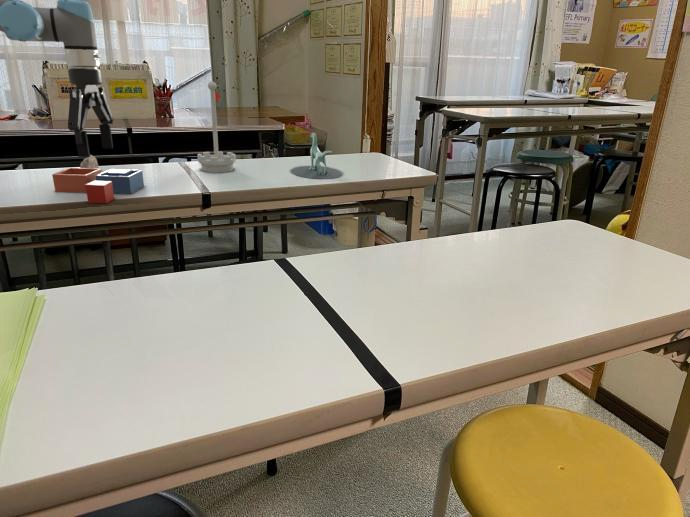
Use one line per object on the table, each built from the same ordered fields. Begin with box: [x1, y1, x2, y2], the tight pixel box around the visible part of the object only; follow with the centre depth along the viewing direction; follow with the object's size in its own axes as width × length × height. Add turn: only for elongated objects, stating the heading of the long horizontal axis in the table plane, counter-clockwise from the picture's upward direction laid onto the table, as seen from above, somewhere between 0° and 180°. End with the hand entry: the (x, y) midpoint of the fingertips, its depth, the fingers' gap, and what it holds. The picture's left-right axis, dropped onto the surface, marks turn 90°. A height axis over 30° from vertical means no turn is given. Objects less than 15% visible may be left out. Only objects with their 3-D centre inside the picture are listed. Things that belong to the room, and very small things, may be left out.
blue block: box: [108, 168, 133, 176], centre depth 152 cm, size 5×5×5 cm
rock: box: [79, 154, 105, 173], centre depth 165 cm, size 6×14×7 cm, turn 38°
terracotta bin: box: [51, 167, 103, 194], centre depth 153 cm, size 10×10×5 cm
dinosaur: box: [290, 132, 343, 180], centre depth 182 cm, size 25×18×13 cm
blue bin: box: [96, 168, 145, 195], centre depth 152 cm, size 10×10×5 cm
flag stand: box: [197, 80, 236, 173], centre depth 179 cm, size 13×13×30 cm
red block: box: [85, 181, 115, 204], centre depth 140 cm, size 5×5×5 cm
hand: (96, 152), depth 138 cm, fingers open, 13 cm apart
